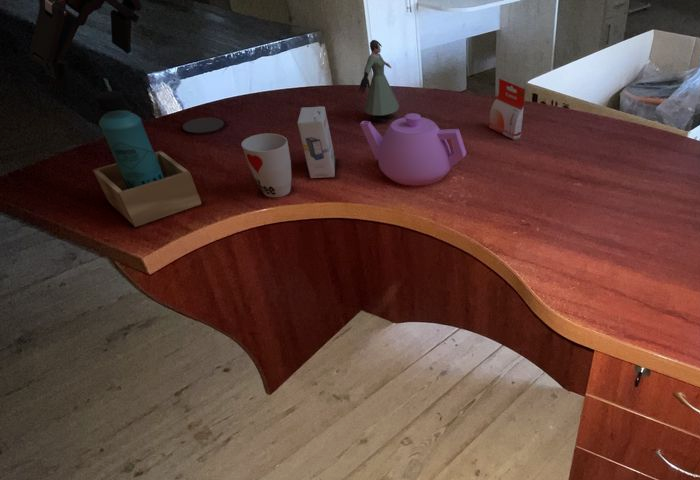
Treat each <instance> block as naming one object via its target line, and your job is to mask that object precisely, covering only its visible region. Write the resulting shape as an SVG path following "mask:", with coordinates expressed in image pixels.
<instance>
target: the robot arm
mask: <svg viewBox="0 0 700 480" xmlns="http://www.w3.org/2000/svg"><path fill="white" fill-rule="evenodd" d="M105 3H107V4H108V5H110V6H111V7H112V8H114V9H113V10H111V11H110V28H111V43H112V44H113V45H115V46H116V47H117V48H118V49H120V50H122V51H123V52H124V53H126V54H130V53H131V52H132V33H131V32H132V22H133V23H138V22H139V20H140V16H139V15H137V14H136V13H135V11H136V12H140V11H142V8H143V5H142V3H141V1H140V0H122V2H120V1H119V0H38V7H39V8H38V14H37V18H36V22H35V26H34V30H33V34H32V37H31V38H32V39H31V41H30V47H29V50H28V58H30V59H32V60H34V61H36V62H37V63H38V64H39V65H41V66H43V67H44V70H45V71H44V72H45V73H46V74H47V75H48V78H49V83H50V85H52V86H54V87H55V88H56V89H58V90H60V91H61V92H63V93H64V94H65V95H70V94H72V86H71V79H70V70H69V61H67V60H66V59H65V57H66V55H67V53H68V50H69V49H70V46H71V45H72V42H73V40H74V38H75V36H76V33H77V32H78V29H79V27H80V26H81V27H82V26H85V24H86V22H87V20H88V18H89V17H90V15H91V14H93V13H94V12H95V11H98V10H100V9H102V8H103V5H104V4H105ZM67 7H69V8H70V9H71V10H73V11H74V12H75V13H77V15H75V14H74V13H73V12H71V11H70V10H68V9H67Z"/></svg>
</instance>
